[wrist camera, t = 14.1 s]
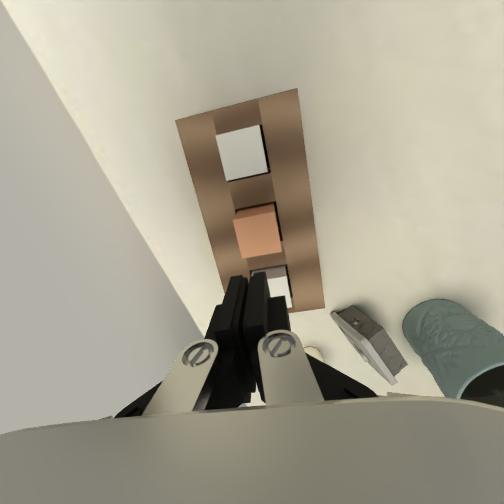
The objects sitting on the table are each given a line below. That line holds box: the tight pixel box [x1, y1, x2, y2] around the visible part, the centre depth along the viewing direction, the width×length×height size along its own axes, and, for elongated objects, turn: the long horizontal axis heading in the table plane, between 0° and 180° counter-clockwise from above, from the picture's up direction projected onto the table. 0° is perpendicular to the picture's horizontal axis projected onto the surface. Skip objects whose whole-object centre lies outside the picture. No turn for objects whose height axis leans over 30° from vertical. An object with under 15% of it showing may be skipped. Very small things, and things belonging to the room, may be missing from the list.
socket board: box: [175, 88, 325, 313], centre depth 29 cm, size 24×12×5 cm, turn 12°
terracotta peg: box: [233, 202, 282, 259], centre depth 26 cm, size 4×4×6 cm
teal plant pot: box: [403, 299, 504, 408], centre depth 30 cm, size 10×10×12 cm
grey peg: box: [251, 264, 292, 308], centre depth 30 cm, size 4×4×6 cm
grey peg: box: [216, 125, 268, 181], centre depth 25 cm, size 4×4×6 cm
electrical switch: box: [331, 305, 408, 385], centre depth 33 cm, size 8×5×8 cm, turn 37°
